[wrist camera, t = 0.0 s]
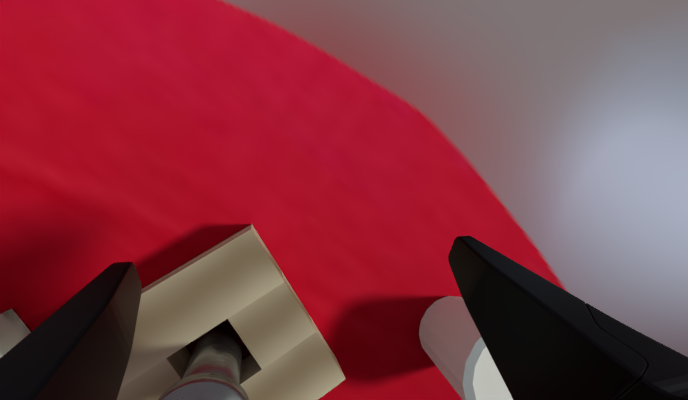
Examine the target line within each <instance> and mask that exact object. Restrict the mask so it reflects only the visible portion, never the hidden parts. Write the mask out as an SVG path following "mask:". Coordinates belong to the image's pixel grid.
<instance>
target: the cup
mask: <svg viewBox="0 0 688 400" xmlns="http://www.w3.org/2000/svg"><path fill="white" fill-rule="evenodd" d="M419 338H420V342H421V346H422V348H423V349H424V351H425V352H426V353H427V355H428V356H429V357H430V359H431V360H432V361H433V362H434V364H435V365H436V366H437V368H438V369H439V370H440V371H441V373H442V374H443V375H444V376H445V378H446V379H447V380H448V382H449V383H450V384H451V385H452V387H453V388H454V389H455V390H456V392H457V393H458V394H459V396H460V397H461V398H462V399H463V400H513V398H512V396H511V394H510V392H509V390H508V388H507V386H506V384H505V382H504V380H503V379H502V377H501V375H500V373H499V371H498V369H497V367H496V365H495V363H494V361H493V359H492V357H491V355H490V353H489V351H488V349H487V347H486V345H485V343H484V341H483V339H482V337H481V335H480V333H479V331H478V329H477V327H476V325H475V323H474V321H473V319H472V317H471V315H470V313H469V311H468V309H467V307H466V305H465V303H464V300H463V298H462V297H456V296H447V297H444V298H441V299H439V300H436V301H435V302H434V303H433V304H432V305H431V306H430V307H429V308H428V309H427V310H426V312H425V314H424V316H423V317H422V319H421V322H420V329H419Z"/></svg>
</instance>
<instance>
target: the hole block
mask: <svg viewBox="0 0 688 400" xmlns="http://www.w3.org/2000/svg"><path fill="white" fill-rule="evenodd" d="M226 319H228V320H229V322H230V323H231V325H232V326H233V327H234V329H235V330H236V332H237V333H238V335H239V336H240V338H241V339H242V341H243V342H244V344H245V345H246V347H247V348H248V350H249V351H250V353H251V355H250V356H248V357H247V358H245V359H244V360H242V361H241V371H240V381H239V384H240V385H241V386H242V387H243V389H244V390H245V392H246V393H247V395H248V398H249V400H318V399H320V398H321V397H322V396H324V395H325V394H326V393H328V392H329V391H330V390H332V389H333V388H334V387H336V386H337V385H338V384H340V383H341V382H342V381H344V380H345V377H344V374H343V372H342V370H341V368H340V366H339V363H338V361H337V359H336V357H335V355H334V354H333V352H332V350H331V349H330V347H329V346H328V344H327V343H326V341H325V339H324V338H323V336H322V335H321V333H320V331H319V330H318V328H317V327H316V325H315V323H314V322H313V320H312V319H311V317H310V316H309V314H308V312H307V311H306V309H305V308H304V306H303V304H302V303H301V301H300V300H299V298H298V296H297V295H296V293H295V292H294V290H293V289H292V287H291V285H290V284H289V282H288V281H287V279H286V277H285V276H284V274H283V273H282V271H281V269H280V268H279V266H278V265H277V263H276V262H275V260H274V258H273V257H272V255H271V254H270V252H269V250H268V249H267V247H266V246H265V244H264V242H263V241H262V239H261V238H260V236H259V235H258V233H257V231H256V230H255V228H254V227H253V225H252V224H251V225H249V226H248V227H246V228H244V229H243V230H241V231H239V232H238V233H236V234H234V235H233V236H231V237H229V238H227V239H226V240H224V241H222V242H221V243H219V244H217V245H216V246H214V247H212V248H211V249H209V250H207V251H205V252H204V253H202V254H200V255H199V256H197V257H195V258H194V259H192V260H190V261H189V262H187V263H185V264H184V265H182V266H180V267H178V268H177V269H175V270H173V271H172V272H170V273H168V274H167V275H165V276H163V277H162V278H160V279H158V280H156V281H155V282H153V283H151V284H150V285H148V286H146V287H145V288H143V289H142V293H141V299H140V305H139V310H138V316H137V322H136V328H135V334H134V339H133V345H132V350H131V354H130V358H129V361H128V365H127V368H126V371H125V375H124V378H123V381H122V385H121V388H120V391H119V394H118V398H117V400H158V399H159V397H160V396H161V395H162V394H163V393H164V392H165V391H166V390H167V389H168V388H169V387H170V386H171V385H173V384H174V383H176V382H177V381H179V380H181V379H183V376H184V374H185V371H186V369H187V366H188V364H189V361H190V359H191V356H192V355H191V354H190V352H189V351H188V349H187V348H186V347H185V346H186V345H188V344H189V343H191V342H192V341H194V340H195V339H197V338H198V337H200V336H201V335H203V334H205V333H206V332H208V331H209V330H211V329H212V328H214V327H215V326H217V325H219V324H220V323H222V322H223V321H225V320H226Z"/></svg>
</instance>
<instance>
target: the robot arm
mask: <svg viewBox="0 0 688 400" xmlns="http://www.w3.org/2000/svg"><path fill="white" fill-rule="evenodd" d="M448 259H449V264H450V267H451V269H452V272H453V274H454V277H455V280H456V282H457V285H458V287H459V290H460V293H461V295H462V298H463V300H464V303H465V305H466V307H467V309H468V311H469V313H470V315H471V317H472V319H473V321H474V323H475V325H476V327H477V329H478V331H479V333H480V335H481V337H482V339H483V341H484V343H485V345H486V347H487V349H488V351H489V353H490V355H491V357H492V359H493V361H494V363H495V365H496V367H497V369H498V371H499V373H500V375H501V377H502V379H503V380H504V382H505V384H506V386H507V388H508V390H509V392H510V394H511V396H512V398H513V400H688V357H686V356H684V355H682V354H680V353H678V352H676V351H675V350H672V349H671V348H669V347H667V346H665V345H663V344H661V343H659V342H657V341H655V340H653V339H651V338H649V337H647V336H645V335H644V334H642V333H640V332H638V331H636V330H634V329H632V328H630V327H628V326H626V325H625V324H623V323H621V322H619V321H617V320H615V319H614V318H612V317H610V316H608V315H606V314H605V313H603V312H601V311H599V310H598V309H596V308H594V307H593V306H591V305H589V304H587V303H586V304H585V302H583V301H582V300H580V299H579V298H577V297H575V296H573V295H572V294H570V293H568V292H566V291H565V290H563V289H561V288H560V287H558V286H556V285H554V284H553V283H551V282H549V281H547V280H546V279H544V278H542V277H540V276H539V275H537V274H535V273H534V272H532V271H530V270H528V269H527V268H525V267H523V266H521V265H520V264H518V263H516V262H514V261H513V260H511V259H509V258H508V257H506V256H504V255H502V254H501V253H499V252H497V251H495V250H494V249H492V248H490V247H488V246H487V245H485V244H483V243H482V242H480V241H478V240H476V239H475V238H473V237H471V236H458V237H457V238H456V239H455V240H454V243H453V246H452V248H451V251H450V253H449V257H448ZM141 293H142V286H141V282H140V279H139V276H138V273H137V271H136V268H135V265H134V264H133V263H132V262H118V263H113V264H111V265H110V266H109V267H107V268H106V269H105V270H104V271H103V272H102V273H100V274H99V275H98V276H97V277H96V278H94V279H93V280H92V281H91V282H90V283H89V284H87V285H86V286H85V287H84V288H83V289H81V290H80V291H79V292H78V293H77V294H76V295H74V296H73V297H72V298H71V299H70V300H68V301H67V302H66V303H65V304H64V305H63V306H61V307H60V308H59V309H58V310H57V311H55V312H54V313H53V314H52V315H51V316H49V317H48V318H47V319H46V320H45V321H44V322H42V323H41V324H40V325H39V326H38V327H36V328H35V329H34V330H33V331H32V332H31V333H29V334H28V335H27V336H26V337H25V338H23V339H22V340H21V341H20V342H19V343H18V344H16V345H15V346H14V347H13V348H12V349H10V350H9V351H8V352H7V353H6V354H5V355H3V356H2V357H1V358H0V400H117V398H118V394H119V391H120V388H121V385H122V381H123V378H124V375H125V371H126V368H127V365H128V361H129V358H130V354H131V350H132V345H133V339H134V334H135V328H136V322H137V316H138V310H139V305H140V299H141Z"/></svg>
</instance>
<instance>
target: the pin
mask: <svg viewBox="0 0 688 400" xmlns="http://www.w3.org/2000/svg"><path fill="white" fill-rule="evenodd" d="M242 351H243V341H242V339H241V338H240V336H239V335H238V333H237V332H236V330H235V329H234V327H233V326H232V325H231V323H230V322H229V321H223V322H222V323H220V324H219V325H217V326H215V327H214V328H212V329H211V330H209V331H208V332H206V333H205V334H203V335H201V336H200V337H199V339H198V341H197V344H196V346H195V349H194V351H193V354H192V356H191V359H190V361H189V364H188V366H187V369H186V371H185V374H184V376H183V379H181V380H179V381H177V382H176V383H174V384H173V385H171V386H170V387H169V388H168V389H167V390H166V391H165V392H164V393H163V394H162V395H161V396H160V397H159V399H158V400H249V398H248V395H247V393H246V392H245V390H244V389H243V387H242V386H241V385H240V384H239V381H240V371H241V361H242Z"/></svg>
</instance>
